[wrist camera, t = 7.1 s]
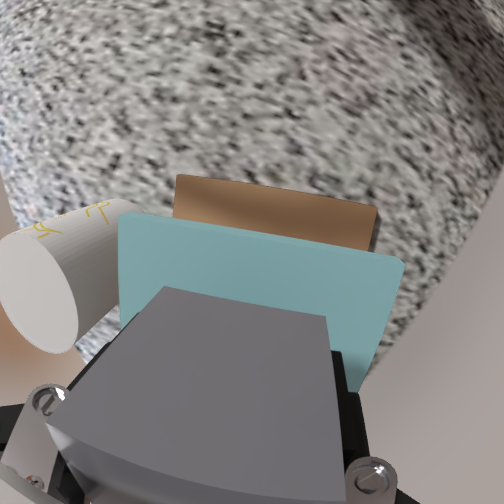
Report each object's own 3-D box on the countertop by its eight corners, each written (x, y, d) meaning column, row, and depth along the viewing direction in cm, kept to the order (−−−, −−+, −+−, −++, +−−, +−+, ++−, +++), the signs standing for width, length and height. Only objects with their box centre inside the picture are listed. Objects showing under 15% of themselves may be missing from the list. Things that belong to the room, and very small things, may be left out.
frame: (177, 174, 24) (69, 198, 11) (377, 207, 23) (460, 264, 10) (168, 341, 29) (105, 441, 16) (330, 371, 28) (341, 490, 15)
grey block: (164, 285, 9) (45, 422, 4) (325, 315, 9) (345, 501, 3) (165, 397, 11) (103, 519, 5) (291, 423, 11) (278, 563, 5)
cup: (134, 183, 25) (35, 209, 13) (173, 268, 27) (101, 342, 15) (73, 220, 27) (-19, 259, 15) (109, 294, 29) (33, 360, 17)
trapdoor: (143, 203, 15) (100, 219, 11) (391, 245, 14) (420, 275, 10) (153, 453, 22) (138, 486, 18) (296, 482, 21) (294, 519, 17)
